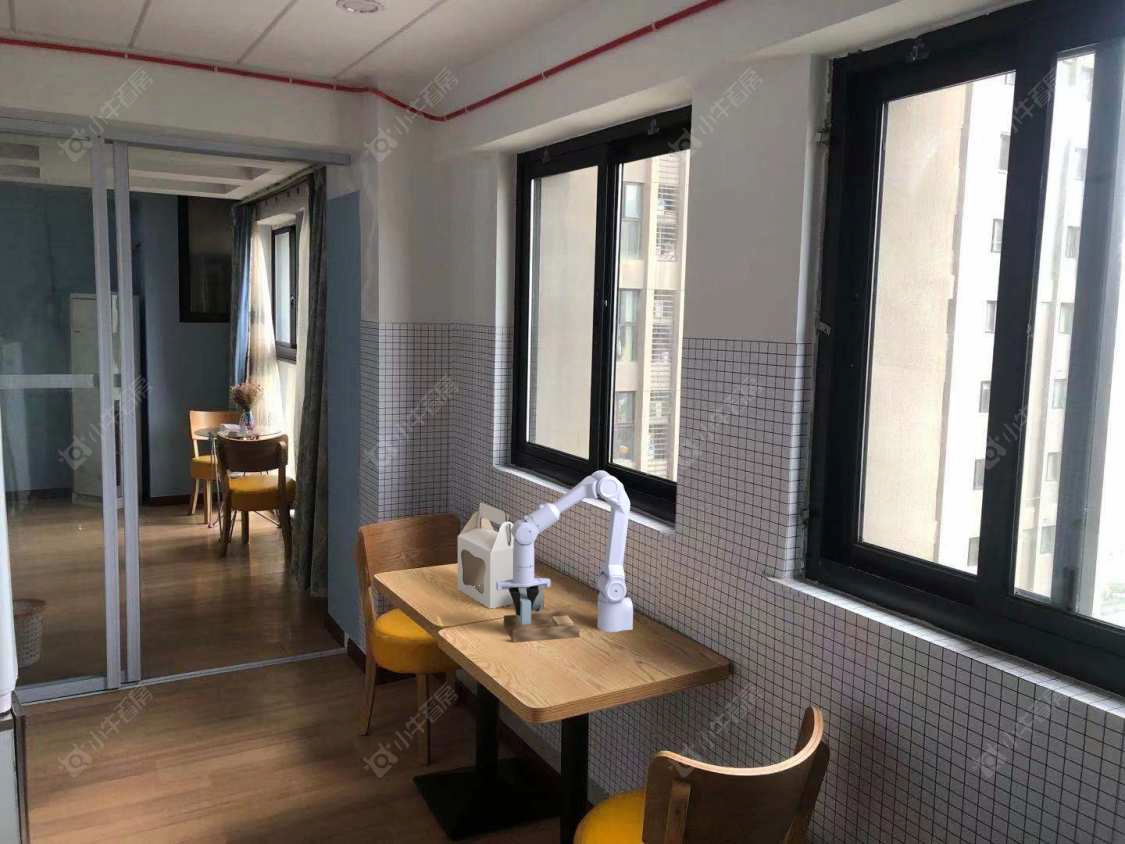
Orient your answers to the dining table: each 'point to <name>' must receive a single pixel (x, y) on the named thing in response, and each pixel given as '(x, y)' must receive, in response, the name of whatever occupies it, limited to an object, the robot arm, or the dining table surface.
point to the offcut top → (562, 621)
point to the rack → (539, 628)
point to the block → (525, 610)
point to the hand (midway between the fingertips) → (523, 614)
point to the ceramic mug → (538, 601)
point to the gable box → (486, 557)
